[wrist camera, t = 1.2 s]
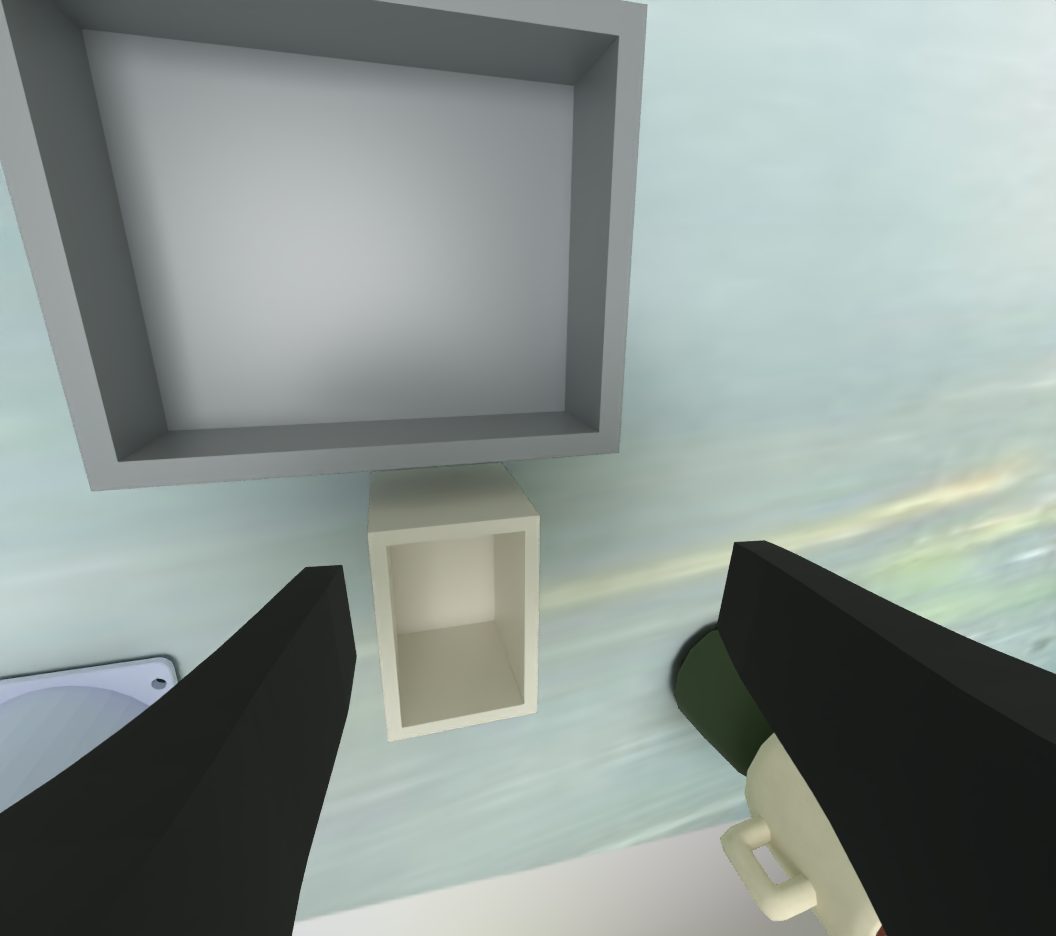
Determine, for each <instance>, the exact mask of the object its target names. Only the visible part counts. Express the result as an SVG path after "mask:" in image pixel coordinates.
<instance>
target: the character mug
mask: <svg viewBox="0 0 1056 936" xmlns="http://www.w3.org/2000/svg"><path fill="white" fill-rule="evenodd" d="M674 695H675V698H676V702H677V705H678V708H679V709H680V711H681V712H682V713H683V714H684V715H685V716H686V717H687V719H688V720H689V721H690V722H691V723H692V724H693V725H694V727H695V728H696V729H697V730H698V731H699V732H700V733H701V735H702V736H703V737H704V738H705V739H706V740H707V741H708V742H709V743H710V744H711V745H712V746H713V747H714V748H715V749H716V750H717V751H718V752H719V753H720V754H721V755H722V756H723V757H724V758H725V759H726V760H727V761H728V762H729V763H730V764H731V765H732V766H733V767H734V768H735V769H736V770H737V771H738V772H739V773H741V774H743V775H744V776H746V777H747V778H746V786H745V797H746V800H747V804H748V808H749V811H750V814H751V817H752V818H750V819H748V820H746V821H743V822H741V823H739V824H736V825H734V826H732V827H730V828H729V829H728V830H727V831H726V832H725V833H724V834H723V835H722V836H721V837H720V840H721V844H722V847H723V850H724V852H725V854H726V855H727V857H728V859H729V860H730V862H731V863H732V865H733V867H734V868H735V870H736V872H737V873H738V875H739V876H740V878H741V880H742V881H743V883H744V885H745V886H746V888H747V889H748V891H749V893H750V894H751V896H752V897H753V899H754V901H755V902H756V904H757V905H758V907H759V908H760V909H761V910H762V911H763V912H764V913H765V914H766V915H767V916H768V917H769V918H770V919H771V920H772V921H785V920H787V919H789V918H791V917H793V916H795V915H797V914H799V913H801V912H803V911H806V910H808V909H809V908H810V909H811V910H812V911H813V913H814V914H815V916H816V917H817V918H818V920H819V921H820V922H821V924H822V925H823V926H824V928H825V929H826V931H827V932H828V934H829V935H830V936H887V935H886V933H885V931H884V929H883V927H882V925H881V923H880V921H879V918H878V916H877V914H876V912H875V910H874V908H873V906H872V904H871V902H870V900H869V898H868V896H867V894H866V892H865V890H864V888H863V886H862V884H861V882H860V880H859V878H858V876H857V874H856V872H855V870H854V868H853V866H852V864H851V863H850V861H849V859H848V857H847V855H846V853H845V851H844V849H843V847H842V845H841V843H840V841H839V839H838V837H837V836H836V834H835V832H834V830H833V828H832V826H831V824H830V822H829V820H828V819H827V817H826V815H825V814H824V812H823V810H822V808H821V807H820V805H819V803H818V802H817V800H816V798H815V796H814V795H813V793H812V791H811V790H810V788H809V787H808V785H807V784H806V782H805V780H804V779H803V777H802V776H801V774H800V773H799V771H798V769H797V768H796V766H795V765H794V763H793V762H792V760H791V758H790V757H789V755H788V754H787V752H786V751H785V749H784V747H783V746H782V744H781V743H780V741H779V740H778V738H777V736H776V735H775V733H774V732H773V730H772V729H771V727H770V725H769V724H768V722H767V721H766V719H765V717H764V716H763V714H762V713H761V711H760V709H759V708H758V706H757V705H756V703H755V701H754V700H753V698H752V697H751V695H750V693H749V692H748V690H747V689H746V687H745V685H744V684H743V682H742V680H741V679H740V677H739V675H738V673H737V671H736V669H735V667H734V665H733V663H732V661H731V659H730V657H729V654H728V652H727V650H726V648H725V645H724V643H723V641H722V639H721V636H720V634H719V632H718V629H717V630H714V631H711V632H709V633H708V634H707V635H706V636H705V637H703V638H702V639H701V640H700V641H699V642H698V643H697V644H696V645H695V646H694V647H693V648H692V649H691V650H690V651H689V653H688V655H687V657H686V659H685V660H684V662H683V664H682V666H681V668H680V670H679V672H678V675H677V681H676V687H675V693H674ZM764 845H766V846H767V848H768V849H769V851H770V852H771V854H772V855H773V857H774V858H775V860H776V861H777V862H778V864H779V865H780V867H781V868H782V869H783V871H784V872H785V874H786V875H787V877H788V878H789V880H787V881H785V882H783V883H781V884H774V883H773V882H772V881H771V880H770V878H769V877H768V875H767V874H766V872H765V871H764V869H763V868H762V866H761V865H760V863H759V862H758V860H757V859H756V857H755V856H754V854H753V852H752V850H754V849H757V848H759V847H761V846H764Z"/></svg>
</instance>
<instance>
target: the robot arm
mask: <svg viewBox="0 0 1056 936" xmlns="http://www.w3.org/2000/svg"><path fill="white" fill-rule="evenodd" d="M717 629H718V632H719V634H720V636H721V639H722V641H723V643H724V645H725V648H726V650H727V652H728V654H729V657H730V659H731V661H732V663H733V665H734V667H735V669H736V671H737V673H738V675H739V677H740V679H741V680H742V682H743V684H744V685H745V687H746V689H747V690H748V692H749V693H750V695H751V697H752V698H753V700H754V701H755V703H756V705H757V706H758V708H759V709H760V711H761V713H762V714H763V716H764V717H765V719H766V721H767V722H768V724H769V725H770V727H771V729H772V730H773V732H774V733H775V735H776V736H777V738H778V740H779V741H780V743H781V744H782V746H783V747H784V749H785V751H786V752H787V754H788V755H789V757H790V758H791V760H792V762H793V763H794V765H795V766H796V768H797V769H798V771H799V773H800V774H801V776H802V777H803V779H804V780H805V782H806V784H807V785H808V787H809V788H810V790H811V791H812V793H813V795H814V796H815V798H816V800H817V802H818V803H819V805H820V807H821V808H822V810H823V812H824V814H825V815H826V817H827V819H828V820H829V822H830V824H831V826H832V828H833V830H834V832H835V834H836V836H837V837H838V839H839V841H840V843H841V845H842V847H843V849H844V851H845V853H846V855H847V857H848V859H849V861H850V863H851V864H852V866H853V868H854V870H855V872H856V874H857V876H858V878H859V880H860V882H861V884H862V886H863V888H864V890H865V892H866V894H867V896H868V898H869V900H870V902H871V904H872V906H873V908H874V910H875V912H876V914H877V916H878V918H879V921H880V923H881V925H882V927H883V929H884V931H885V933H886V935H887V936H1056V674H1054V673H1052V672H1049V671H1047V670H1044V669H1042V668H1039V667H1037V666H1034V665H1032V664H1029V663H1027V662H1024V661H1022V660H1019V659H1017V658H1014V657H1012V656H1009V655H1007V654H1004V653H1002V652H999V651H997V650H995V649H992V648H990V647H988V646H985V645H983V644H981V643H978V642H976V641H974V640H971V639H969V638H967V637H965V636H962V635H960V634H958V633H956V632H954V631H951V630H949V629H947V628H945V627H943V626H941V625H938V624H936V623H934V622H932V621H930V620H928V619H925V618H923V617H921V616H919V615H917V614H915V613H913V612H911V611H909V610H906V609H904V608H902V607H900V606H898V605H896V604H894V603H892V602H890V601H888V600H886V599H884V598H882V597H880V596H878V595H876V594H874V593H872V592H870V591H868V590H866V589H864V588H862V587H860V586H858V585H856V584H854V583H852V582H850V581H848V580H846V579H844V578H842V577H840V576H838V575H837V574H835V573H833V572H831V571H829V570H827V569H825V568H823V567H821V566H819V565H817V564H815V563H813V562H811V561H809V560H807V559H805V558H803V557H801V556H799V555H797V554H795V553H793V552H790V551H788V550H786V549H784V548H782V547H779V546H777V545H775V544H772V543H770V542H767V541H765V540H763V541H746V542H734V546H733V551H732V556H731V561H730V565H729V570H728V575H727V580H726V584H725V589H724V594H723V599H722V604H721V608H720V613H719V618H718V623H717ZM356 656H357V655H356V649H355V642H354V636H353V630H352V623H351V617H350V611H349V604H348V598H347V592H346V585H345V579H344V573H343V566H342V565H334V566H317V567H305V568H304V569H303V570H302V571H301V572H300V573H299V574H298V575H297V576H295V577H294V578H293V579H292V580H291V581H290V582H289V583H288V584H287V585H286V586H285V587H284V588H283V589H282V590H281V591H280V592H279V593H278V594H277V595H275V596H274V597H273V598H272V599H271V600H270V601H269V602H268V603H267V604H266V605H265V606H264V607H263V608H262V609H261V610H260V611H259V612H258V613H257V614H255V615H254V616H253V617H252V618H251V619H250V620H249V621H248V622H247V623H246V624H245V625H244V626H242V627H241V628H240V629H239V630H238V631H237V632H236V633H235V634H234V635H233V636H232V637H231V638H229V639H228V640H227V641H226V642H225V643H224V644H223V645H222V646H221V647H220V648H218V649H217V650H216V651H215V652H214V653H213V654H211V655H210V656H209V657H208V658H207V659H206V660H204V661H203V662H202V663H201V664H200V665H198V666H197V667H196V668H195V669H194V670H193V671H191V672H190V673H189V674H188V675H187V676H185V677H184V678H183V679H182V680H181V681H180V682H178V681H177V677H176V673H175V669H174V665H173V663H172V662H171V661H170V660H168V659H166V658H163V657H157V658H150V659H143V660H136V661H129V662H122V663H115V664H108V665H102V666H95V667H88V668H81V669H74V670H67V671H60V672H53V673H46V674H39V675H32V676H26V677H19V678H12V679H5V680H0V936H292V931H293V926H294V921H295V916H296V910H297V905H298V900H299V894H300V890H301V885H302V881H303V877H304V873H305V869H306V864H307V860H308V856H309V852H310V849H311V845H312V842H313V838H314V834H315V831H316V827H317V824H318V820H319V816H320V813H321V809H322V806H323V802H324V798H325V795H326V791H327V788H328V784H329V780H330V777H331V773H332V770H333V766H334V762H335V759H336V755H337V751H338V748H339V744H340V740H341V737H342V733H343V729H344V726H345V722H346V718H347V714H348V710H349V703H350V697H351V691H352V685H353V678H354V671H355V664H356ZM157 678H158V679H163V680H165V681H166V682H165V683H160V682H158V681H157V680H156V679H157Z"/></svg>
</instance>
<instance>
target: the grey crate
mask: <svg viewBox="0 0 1056 936" xmlns="http://www.w3.org/2000/svg"><path fill="white" fill-rule="evenodd" d="M646 19H647V4H641V3H634V2H628V1H622V0H0V160H1V164H2V167H3V171H4V175H5V178H6V182H7V186H8V189H9V193H10V197H11V200H12V204H13V207H14V211H15V215H16V218H17V222H18V226H19V229H20V233H21V237H22V240H23V244H24V248H25V251H26V255H27V259H28V262H29V266H30V270H31V273H32V277H33V280H34V284H35V288H36V291H37V295H38V299H39V302H40V306H41V310H42V313H43V317H44V321H45V324H46V328H47V332H48V335H49V339H50V343H51V346H52V350H53V353H54V357H55V361H56V364H57V368H58V372H59V375H60V379H61V383H62V386H63V390H64V394H65V397H66V401H67V405H68V408H69V412H70V416H71V419H72V423H73V426H74V430H75V434H76V437H77V441H78V445H79V448H80V452H81V456H82V459H83V463H84V467H85V470H86V474H87V478H88V481H89V485H90V488H91V491H104V490H117V489H131V488H145V487H159V486H172V485H186V484H200V483H213V482H227V481H241V480H255V479H268V478H282V477H296V476H309V475H323V474H337V473H351V472H364V471H378V470H392V469H405V468H419V467H433V466H447V465H460V464H474V463H488V462H501V461H515V460H529V459H543V458H556V457H570V456H584V455H597V454H611V453H619V444H620V428H621V413H622V397H623V381H624V365H625V350H626V334H627V318H628V302H629V287H630V271H631V255H632V240H633V224H634V208H635V192H636V177H637V161H638V145H639V129H640V114H641V98H642V82H643V67H644V51H645V35H646Z"/></svg>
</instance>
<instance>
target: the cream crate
mask: <svg viewBox="0 0 1056 936" xmlns="http://www.w3.org/2000/svg"><path fill="white" fill-rule="evenodd" d="M367 536H368V546H369V556H370V566H371V576H372V586H373V596H374V606H375V616H376V626H377V636H378V646H379V656H380V666H381V676H382V686H383V696H384V706H385V716H386V726H387V736H388V742H392V741H397V740H402V739H407V738H412V737H417V736H422V735H427V734H432V733H437V732H442V731H447V730H452V729H457V728H462V727H467V726H472V725H477V724H482V723H487V722H492V721H497V720H502V719H507V718H512V717H517V716H522V715H527V714H532V713H537V694H538V626H539V558H540V515H539V513H538V512H537V510H536V509H535V508H534V506H533V505H532V503H531V502H530V501H529V499H528V498H527V497H526V495H525V494H524V492H523V491H522V490H521V488H520V487H519V486H518V484H517V483H516V481H515V480H514V479H513V477H512V476H511V475H510V473H509V472H508V470H507V469H506V468H505V466H504V465H503V464H502V463H488V464H474V465H461V466H447V467H434V468H420V469H407V470H393V471H380V472H371V482H370V498H369V513H368V529H367Z"/></svg>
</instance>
